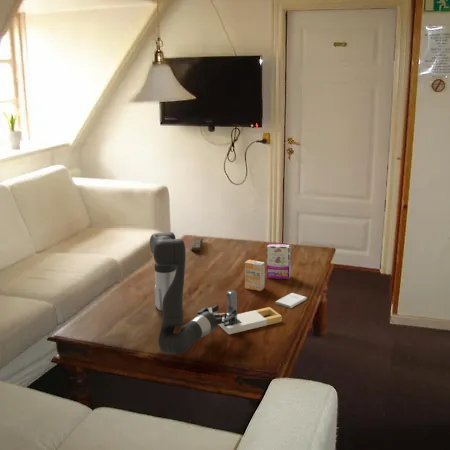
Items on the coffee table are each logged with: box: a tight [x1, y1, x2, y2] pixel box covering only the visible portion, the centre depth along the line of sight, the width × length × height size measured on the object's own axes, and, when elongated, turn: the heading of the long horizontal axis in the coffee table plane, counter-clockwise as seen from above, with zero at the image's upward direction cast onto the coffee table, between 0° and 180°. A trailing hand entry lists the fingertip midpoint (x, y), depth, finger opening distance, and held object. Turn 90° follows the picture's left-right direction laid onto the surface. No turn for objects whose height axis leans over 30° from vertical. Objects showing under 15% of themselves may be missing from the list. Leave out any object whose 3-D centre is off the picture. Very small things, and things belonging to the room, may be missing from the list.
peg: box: [226, 289, 238, 326], centre depth 229 cm, size 4×4×15 cm
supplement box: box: [244, 259, 266, 292], centre depth 268 cm, size 8×5×13 cm, turn 62°
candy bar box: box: [266, 243, 292, 280], centre depth 280 cm, size 11×5×16 cm, turn 76°
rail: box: [217, 306, 283, 335], centre depth 235 cm, size 24×10×2 cm, turn 116°
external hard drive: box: [274, 292, 308, 309], centre depth 255 cm, size 2×8×12 cm
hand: (226, 309), depth 226 cm, fingers open, 8 cm apart
